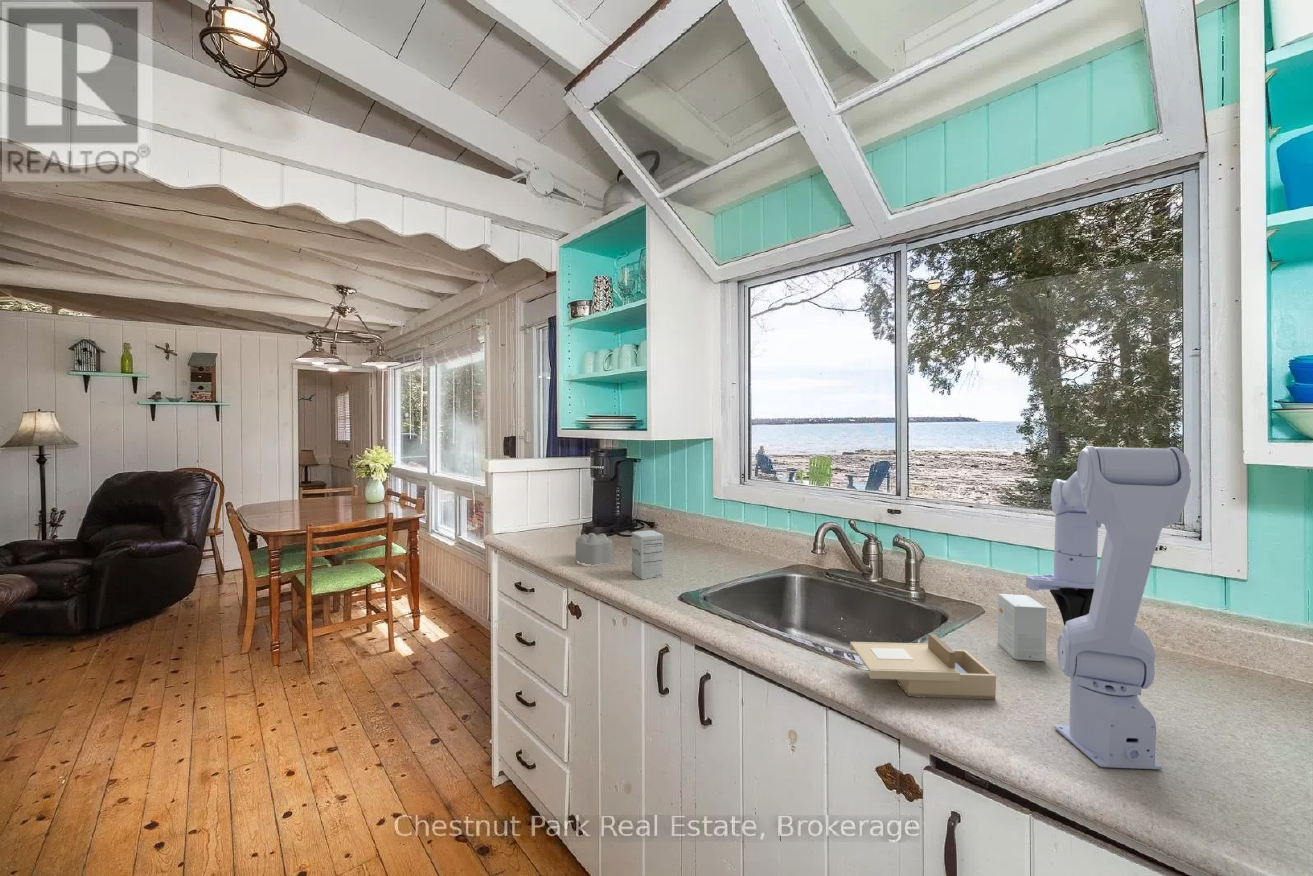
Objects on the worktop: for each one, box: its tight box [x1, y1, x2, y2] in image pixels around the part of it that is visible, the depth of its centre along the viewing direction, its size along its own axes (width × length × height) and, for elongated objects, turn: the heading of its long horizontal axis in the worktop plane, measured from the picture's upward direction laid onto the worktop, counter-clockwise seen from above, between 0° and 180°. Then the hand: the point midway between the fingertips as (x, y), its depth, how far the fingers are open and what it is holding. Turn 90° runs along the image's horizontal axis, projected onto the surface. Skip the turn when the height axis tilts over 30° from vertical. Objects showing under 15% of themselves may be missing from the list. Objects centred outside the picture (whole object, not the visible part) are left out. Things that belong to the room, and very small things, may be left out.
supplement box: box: [631, 529, 664, 580], centre depth 161 cm, size 7×7×13 cm
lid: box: [849, 633, 960, 681], centre depth 96 cm, size 12×14×4 cm
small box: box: [997, 593, 1048, 662], centre depth 108 cm, size 8×6×10 cm
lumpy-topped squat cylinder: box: [575, 532, 614, 565], centre depth 177 cm, size 10×13×9 cm
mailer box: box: [895, 649, 997, 701], centre depth 96 cm, size 10×14×4 cm
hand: (1073, 632), depth 92 cm, fingers closed
